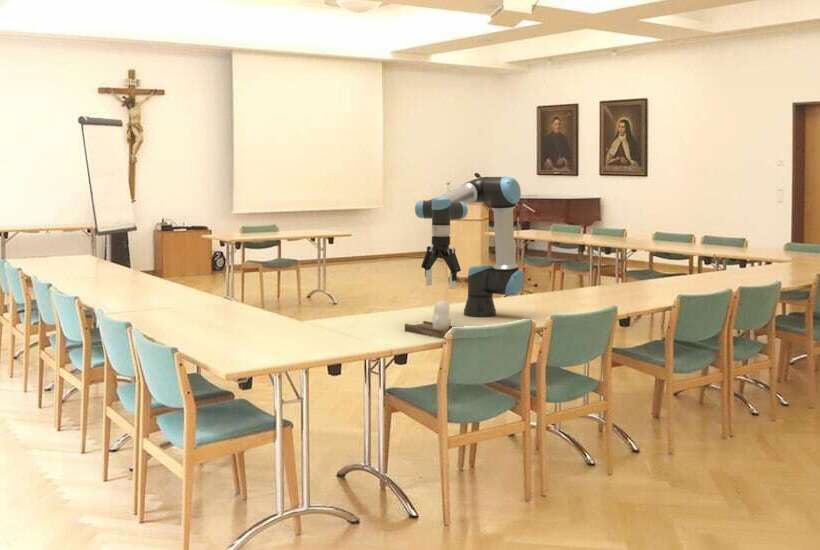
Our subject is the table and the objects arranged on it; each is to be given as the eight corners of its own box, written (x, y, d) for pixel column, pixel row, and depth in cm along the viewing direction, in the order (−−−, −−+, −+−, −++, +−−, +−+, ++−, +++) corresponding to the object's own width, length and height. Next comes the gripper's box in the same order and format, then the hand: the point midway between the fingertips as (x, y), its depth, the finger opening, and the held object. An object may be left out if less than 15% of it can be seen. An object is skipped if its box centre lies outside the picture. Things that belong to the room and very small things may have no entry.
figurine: (435, 331, 361) (436, 302, 360) (430, 328, 369) (430, 299, 367) (452, 330, 363) (452, 301, 362) (446, 327, 371) (446, 298, 369)
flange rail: (424, 327, 382) (424, 319, 381) (461, 335, 366) (461, 326, 365) (404, 330, 374) (404, 322, 374) (441, 338, 358) (441, 329, 357)
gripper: (413, 234, 370) (412, 284, 373) (456, 237, 352) (456, 291, 355) (426, 233, 375) (425, 283, 378) (469, 236, 357) (469, 289, 360)
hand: (440, 287), depth 366 cm, fingers open, 13 cm apart
